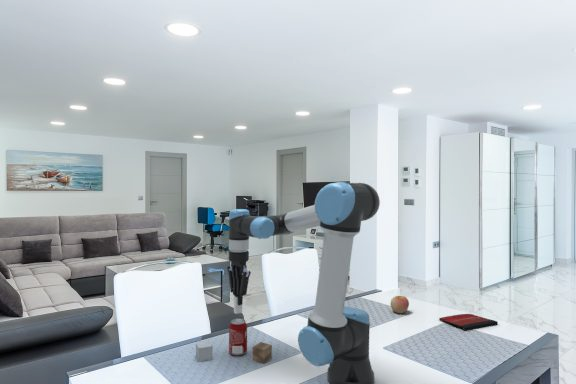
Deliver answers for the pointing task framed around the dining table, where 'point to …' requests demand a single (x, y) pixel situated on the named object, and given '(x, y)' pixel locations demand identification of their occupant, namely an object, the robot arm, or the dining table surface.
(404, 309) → the apple
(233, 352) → the soda can
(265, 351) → the walnut cube
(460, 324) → the binder
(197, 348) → the grey cube
